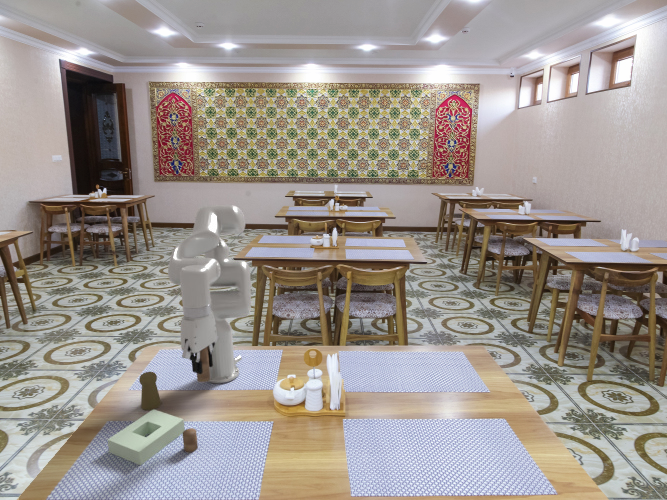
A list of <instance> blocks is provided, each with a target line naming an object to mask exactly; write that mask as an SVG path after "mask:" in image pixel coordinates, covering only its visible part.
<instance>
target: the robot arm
mask: <svg viewBox="0 0 667 500" xmlns="http://www.w3.org/2000/svg"><path fill="white" fill-rule="evenodd" d="M194 218H195V219H194V225H193V228H192V233H191V234H190V235H188V236H187V237H185V238H184V239H183V240H181V241H180V242H179V243H177V245H175V247H174V248H173V250H172V252H171V255H170V259H169V263H168V267H167V276H168V279H169V281H170V282H171V283H172V284H173V285H176V286H178V285H179V286H180V291H181V303H182V311H183V317H181V321H180V345H181V346H180V347H181V351H182V354H181V358H183V359H186V360H189V361H191V367H192V369H191V370H192V372H193V373H195V374H197V373H198V374H202V373H203V370H202V361H200V351H201V350H202V349H204V348H206V347H207V346H208V357H209V368H210V380H209V381H207V382H206V383H211V384H225V383H229V382H231V381H233V380H235V379H236V378H238V376H239V375H240V369H239V367H238V366H237V363H239V362H240V361H242V359H243V357H242V356H241V355H237V356H235V354H234V341H233V338H234V337H233V328H232V325H231V324H230V322H229V321H228V320H227V319H233V318H234V319H236V318H245V317H248V316H249V315H250V314H251V309H252V296H251V295H252V291H251V290H252V289H251V287H252V285H251V270H250V266H249V263H248V262H246V261H244V260H235V259H234V260H230V249H229V246H228V245H227V243H226V242H225V240H223V238H221V235H239V234H242V233H244V230H245V228H246V216H245V215H244V213H243V211H242V209H241V208H240V207H238V206H237V205H232V204H223V205H222V204H221V205H205V206H202V207H201V208H199V209H198V211H197V212H196V215H195V217H194ZM201 255H204V257H198V256H201ZM211 288H215V289H217V288H219V289H220V288H222V289H223V288H236V290H212V291H211ZM195 353H196V356H195Z"/></svg>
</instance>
